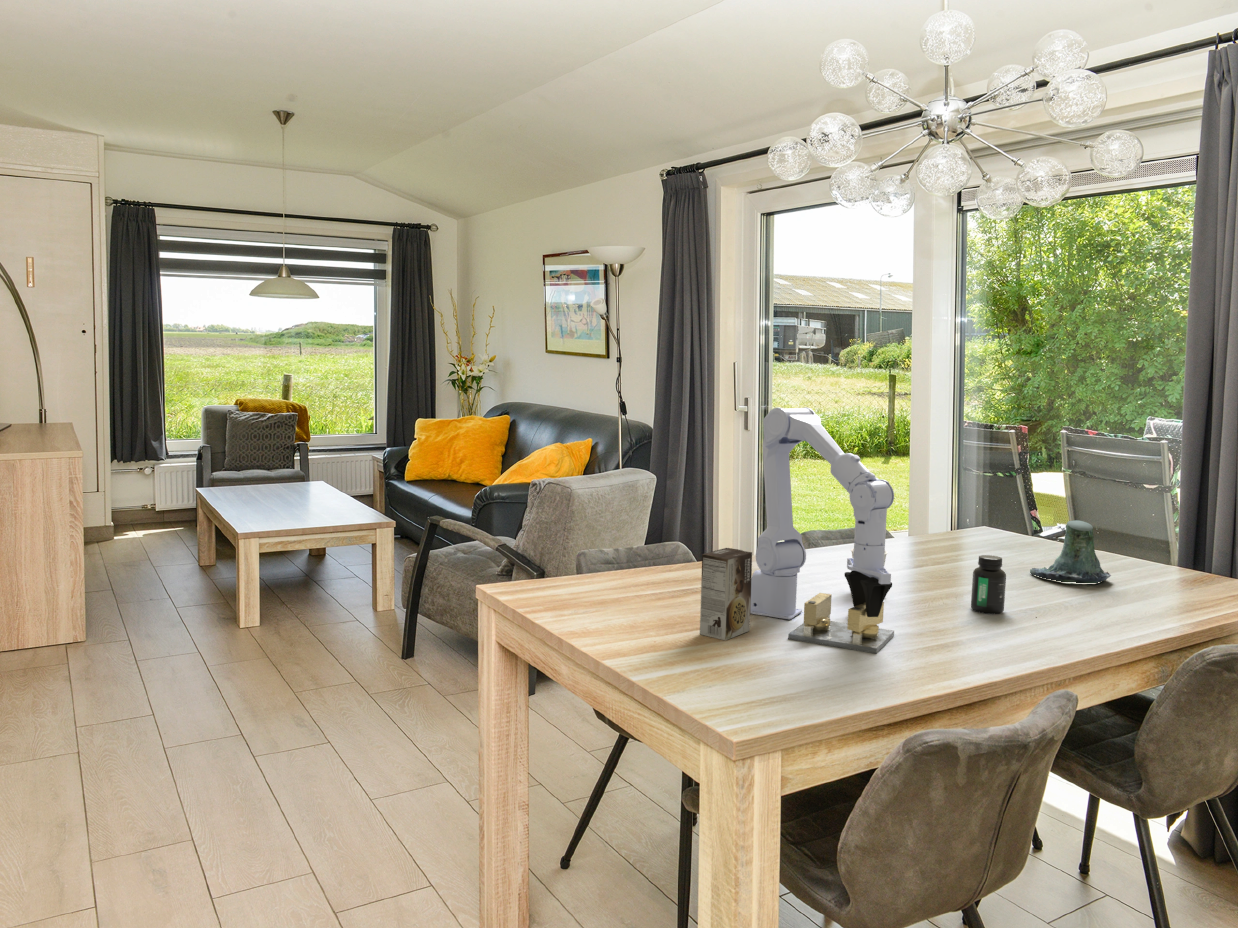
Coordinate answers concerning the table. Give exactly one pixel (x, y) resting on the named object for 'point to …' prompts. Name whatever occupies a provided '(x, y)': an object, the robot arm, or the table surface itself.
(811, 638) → the plate
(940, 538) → the table surface
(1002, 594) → the supplement bottle
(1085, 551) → the tree stump
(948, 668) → the table surface
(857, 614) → the gold bar with dome
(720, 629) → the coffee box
